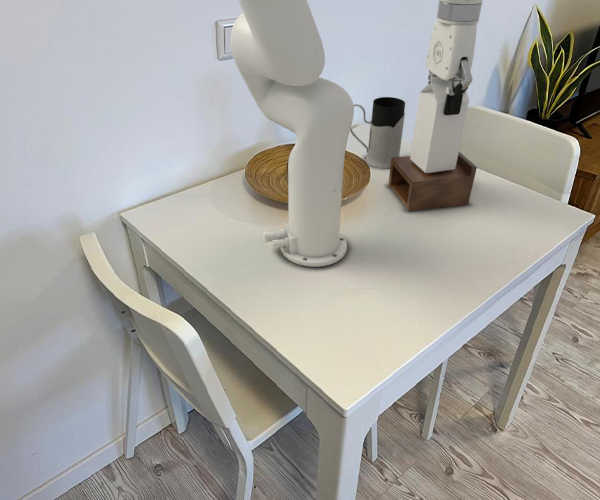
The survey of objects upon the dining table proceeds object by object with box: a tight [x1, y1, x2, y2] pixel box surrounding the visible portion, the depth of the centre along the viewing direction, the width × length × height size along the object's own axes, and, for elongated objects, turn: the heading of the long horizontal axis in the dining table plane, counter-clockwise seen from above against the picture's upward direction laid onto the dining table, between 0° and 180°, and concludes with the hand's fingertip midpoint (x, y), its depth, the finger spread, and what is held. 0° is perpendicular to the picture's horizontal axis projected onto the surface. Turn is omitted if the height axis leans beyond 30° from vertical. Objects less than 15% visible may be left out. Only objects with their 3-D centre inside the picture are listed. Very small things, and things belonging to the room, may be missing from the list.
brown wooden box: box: [387, 151, 478, 212], centre depth 112 cm, size 14×12×9 cm
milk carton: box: [409, 75, 470, 173], centre depth 105 cm, size 7×7×19 cm
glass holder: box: [350, 96, 406, 169], centre depth 125 cm, size 9×14×15 cm, turn 77°
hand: (442, 106), depth 103 cm, fingers closed on milk carton, 7 cm apart
